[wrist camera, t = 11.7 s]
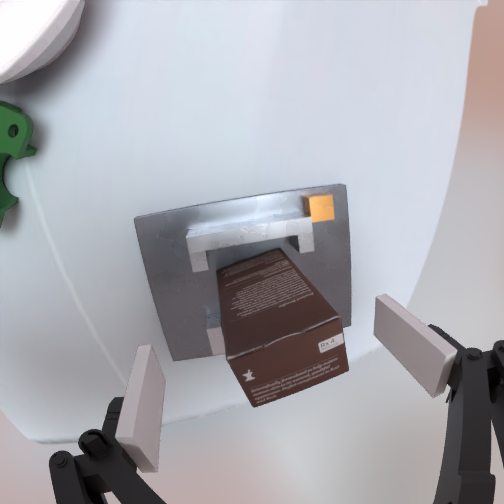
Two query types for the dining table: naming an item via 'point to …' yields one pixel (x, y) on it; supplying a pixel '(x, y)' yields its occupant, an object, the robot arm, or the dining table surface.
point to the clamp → (12, 145)
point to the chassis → (240, 256)
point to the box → (277, 328)
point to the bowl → (35, 34)
